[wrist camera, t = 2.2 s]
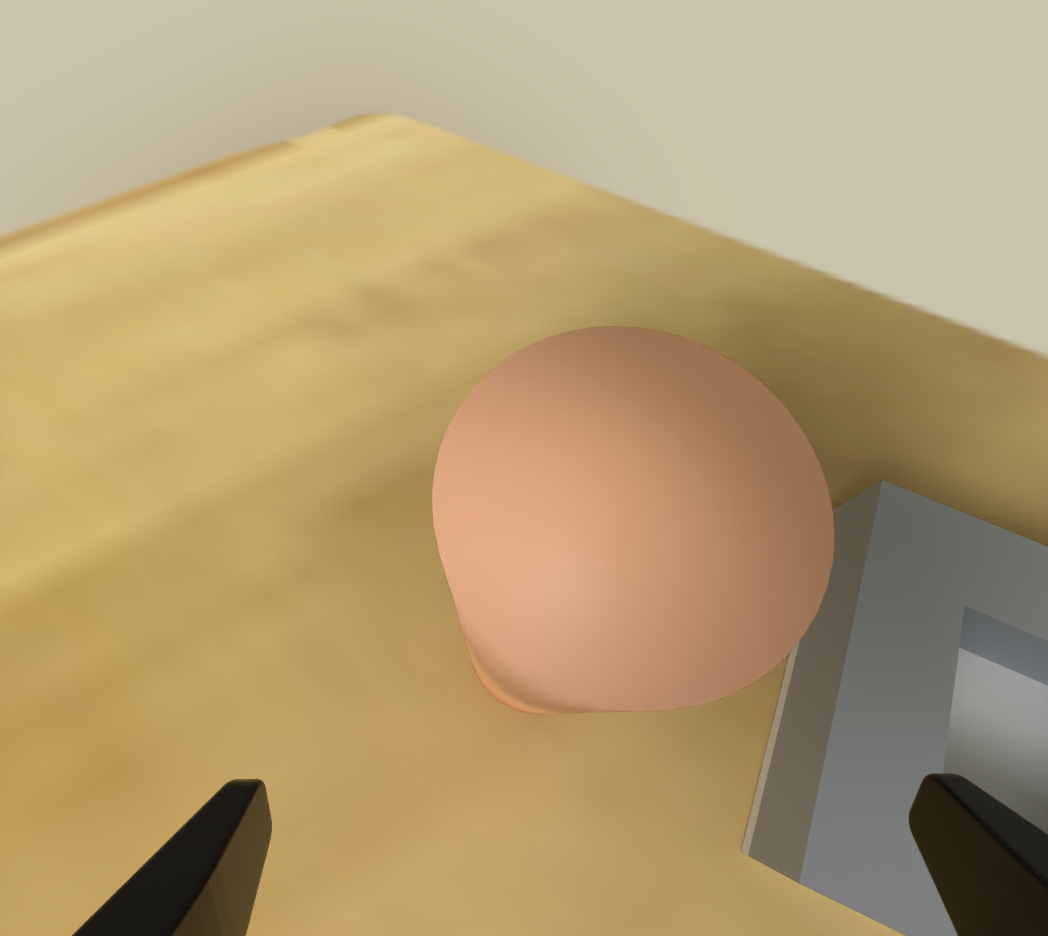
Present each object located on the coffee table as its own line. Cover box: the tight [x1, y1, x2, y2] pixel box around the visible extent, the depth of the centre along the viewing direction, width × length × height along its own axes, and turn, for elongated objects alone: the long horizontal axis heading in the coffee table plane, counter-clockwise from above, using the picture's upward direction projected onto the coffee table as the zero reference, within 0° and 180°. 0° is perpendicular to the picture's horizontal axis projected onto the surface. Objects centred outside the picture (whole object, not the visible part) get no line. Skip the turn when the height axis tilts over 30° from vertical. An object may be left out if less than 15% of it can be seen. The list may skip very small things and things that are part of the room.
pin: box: [432, 326, 835, 714], centre depth 13 cm, size 4×4×14 cm
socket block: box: [741, 480, 1048, 936], centre depth 17 cm, size 12×12×4 cm
